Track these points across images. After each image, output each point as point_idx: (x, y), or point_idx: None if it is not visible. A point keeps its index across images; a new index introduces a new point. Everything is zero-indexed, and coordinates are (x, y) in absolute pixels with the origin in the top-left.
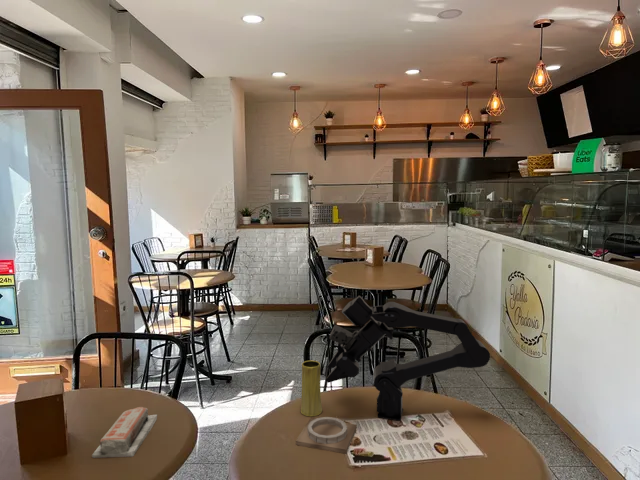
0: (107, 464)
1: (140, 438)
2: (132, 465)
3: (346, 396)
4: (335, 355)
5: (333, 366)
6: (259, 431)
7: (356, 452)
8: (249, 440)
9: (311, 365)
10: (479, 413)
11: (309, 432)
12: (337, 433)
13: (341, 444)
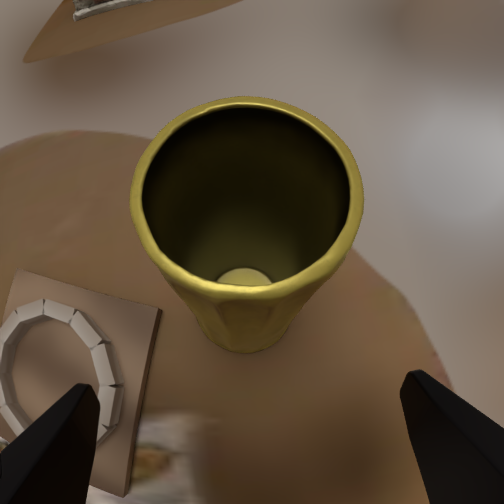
0: (65, 14)
1: (109, 3)
2: (52, 32)
3: (401, 437)
4: (494, 466)
5: (412, 430)
6: (102, 151)
7: None
8: (65, 143)
9: (333, 203)
10: None
11: (17, 309)
12: None
13: (4, 419)
